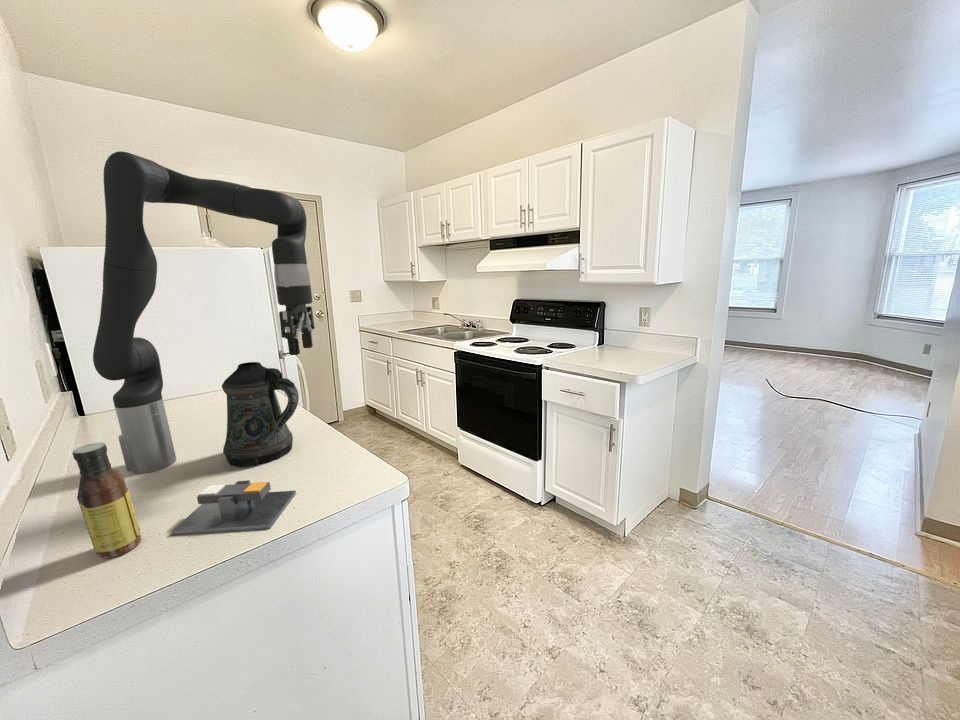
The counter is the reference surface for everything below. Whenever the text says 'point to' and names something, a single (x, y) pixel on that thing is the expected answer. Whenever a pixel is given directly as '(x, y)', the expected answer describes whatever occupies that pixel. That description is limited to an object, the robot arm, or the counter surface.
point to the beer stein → (257, 415)
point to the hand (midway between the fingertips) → (301, 351)
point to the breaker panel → (236, 514)
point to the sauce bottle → (105, 503)
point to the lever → (234, 492)
